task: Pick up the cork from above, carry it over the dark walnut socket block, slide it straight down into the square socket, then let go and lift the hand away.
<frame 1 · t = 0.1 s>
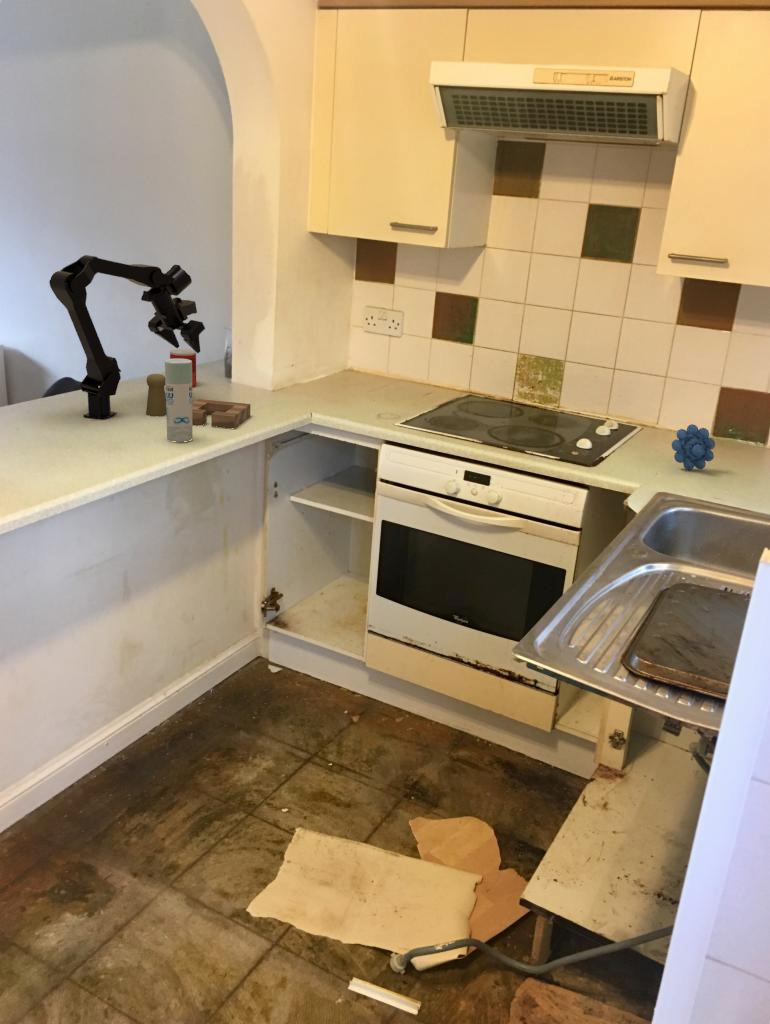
hand: (188, 349, 254), 15 cm above the worktop, tool tilted 30°, fingers open, 9 cm apart
blue knobbed flower: (690, 471, 223), on the worktop
canned food: (183, 386, 276), on the worktop
socket block: (216, 419, 240), on the worktop
cork: (157, 414, 242), on the worktop
spray paint can: (179, 440, 220), on the worktop
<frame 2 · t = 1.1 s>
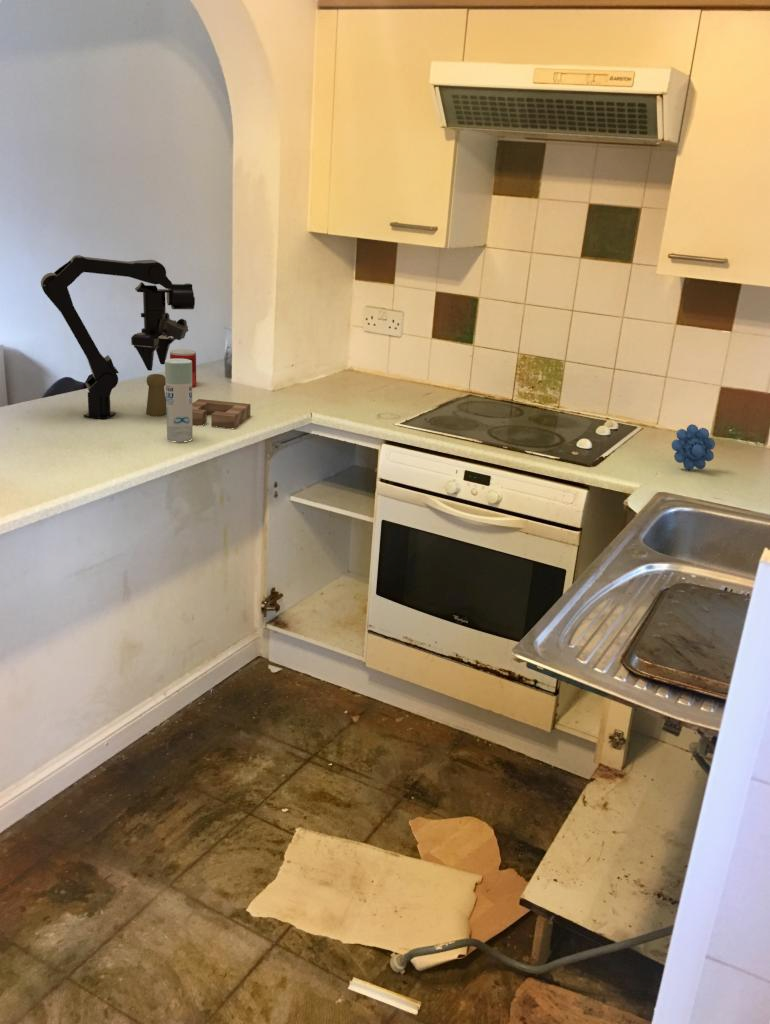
hand: (156, 367, 238), 13 cm above the worktop, tool pointing down, fingers open, 9 cm apart
nothing on the worktop moved.
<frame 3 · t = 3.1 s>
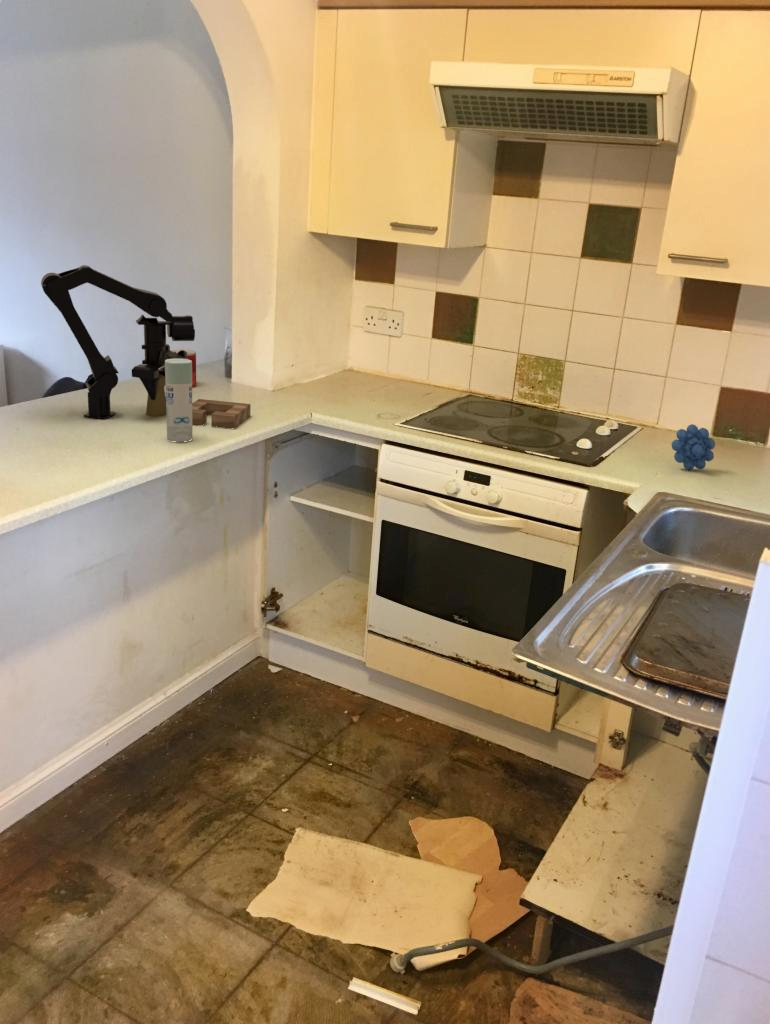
hand: (156, 397, 240), 5 cm above the worktop, tool pointing down, fingers closed on cork, 4 cm apart
cork: (157, 414, 242), on the worktop, touching gripper
everything else where it was.
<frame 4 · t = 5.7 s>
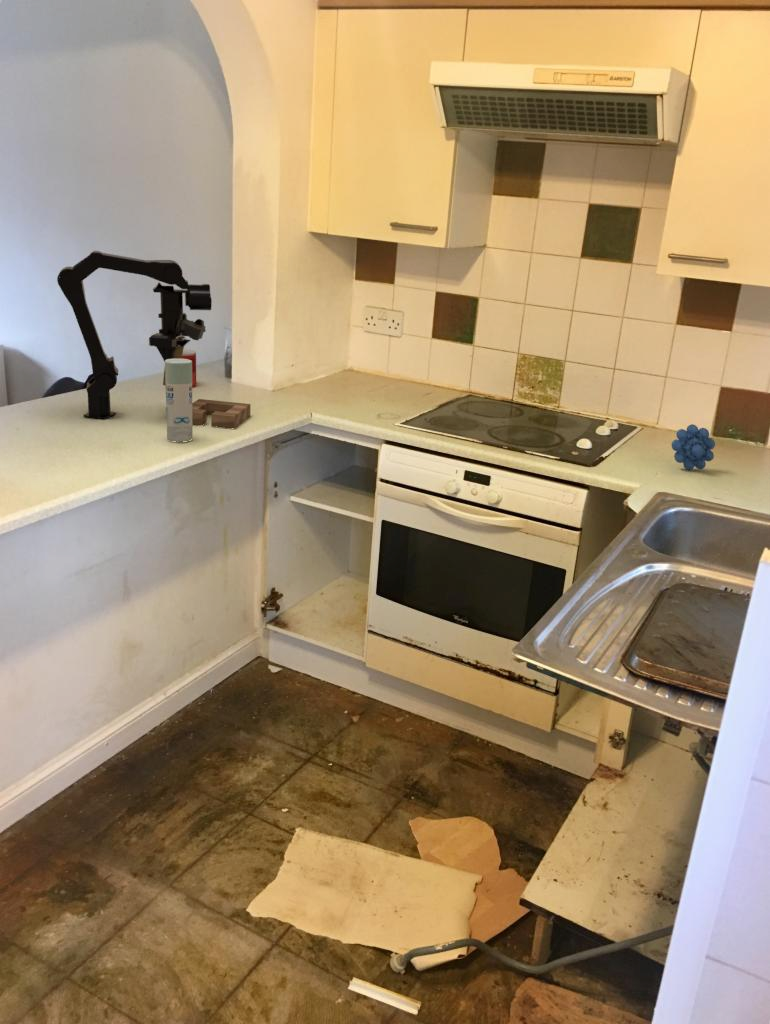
hand: (173, 367, 237), 13 cm above the worktop, tool pointing down, fingers closed on cork, 4 cm apart
cork: (174, 384, 238), point 9 cm above the worktop, touching gripper
everything else where it was.
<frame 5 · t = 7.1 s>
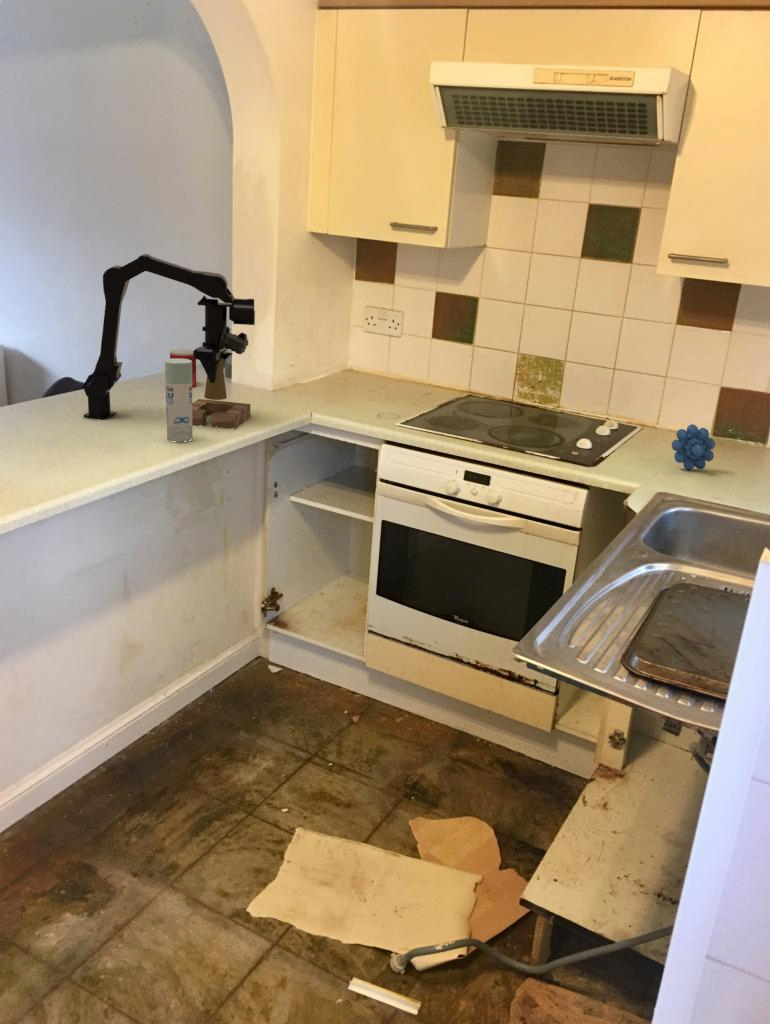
hand: (215, 381, 236), 11 cm above the worktop, tool pointing down, fingers closed on cork, 4 cm apart
cork: (215, 397, 238), point 6 cm above the worktop, touching gripper
everything else where it was.
when the fingers open (6 cm above the worktop, at t = 8.2 s): cork drops 1 cm, resting in socket block.
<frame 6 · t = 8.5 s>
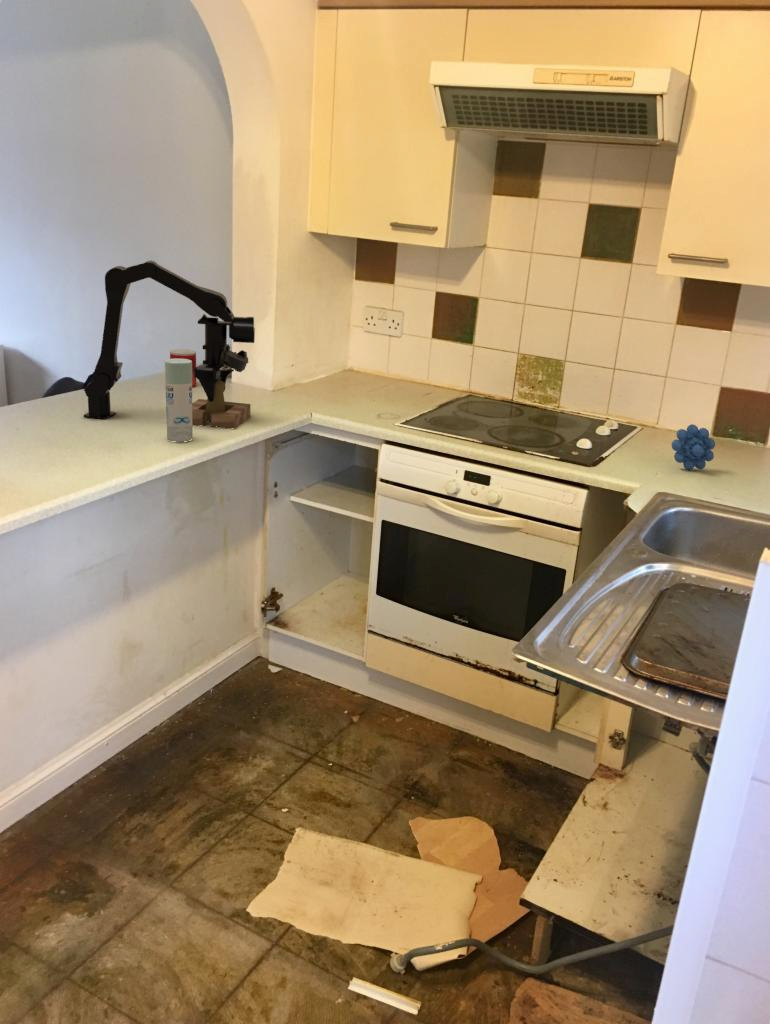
hand: (215, 398, 238), 6 cm above the worktop, tool pointing down, fingers open, 7 cm apart
cork: (215, 420, 240), resting in socket block
everything else where it was.
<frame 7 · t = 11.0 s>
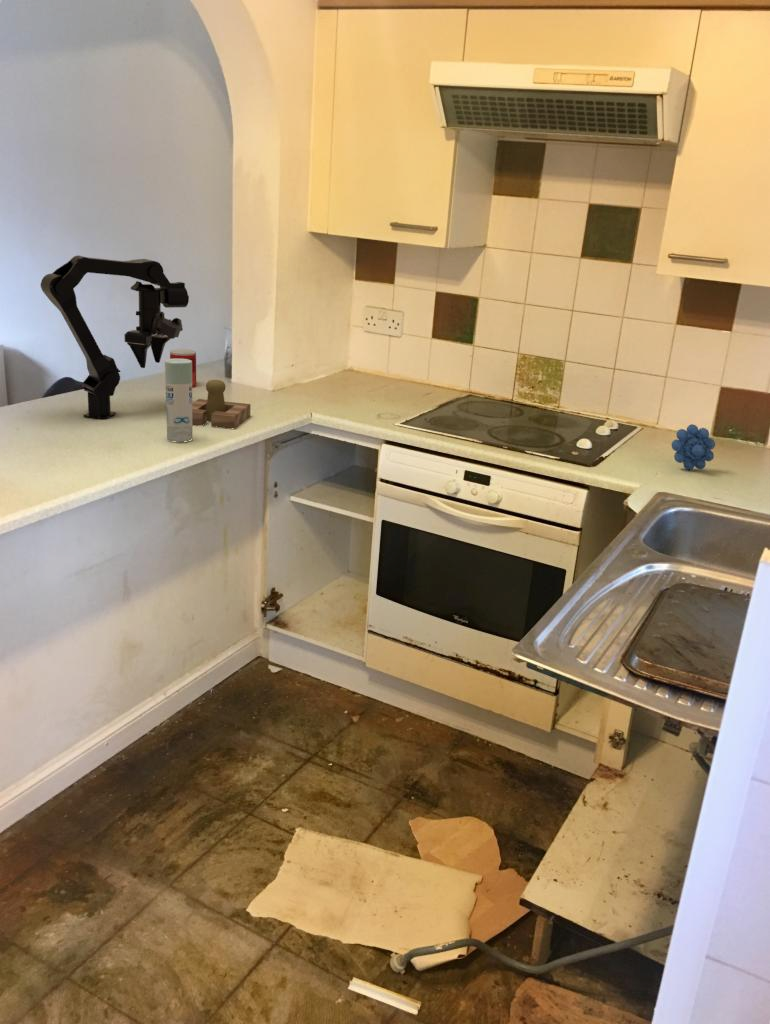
hand: (150, 365, 241), 13 cm above the worktop, tool pointing down, fingers open, 9 cm apart
nothing on the worktop moved.
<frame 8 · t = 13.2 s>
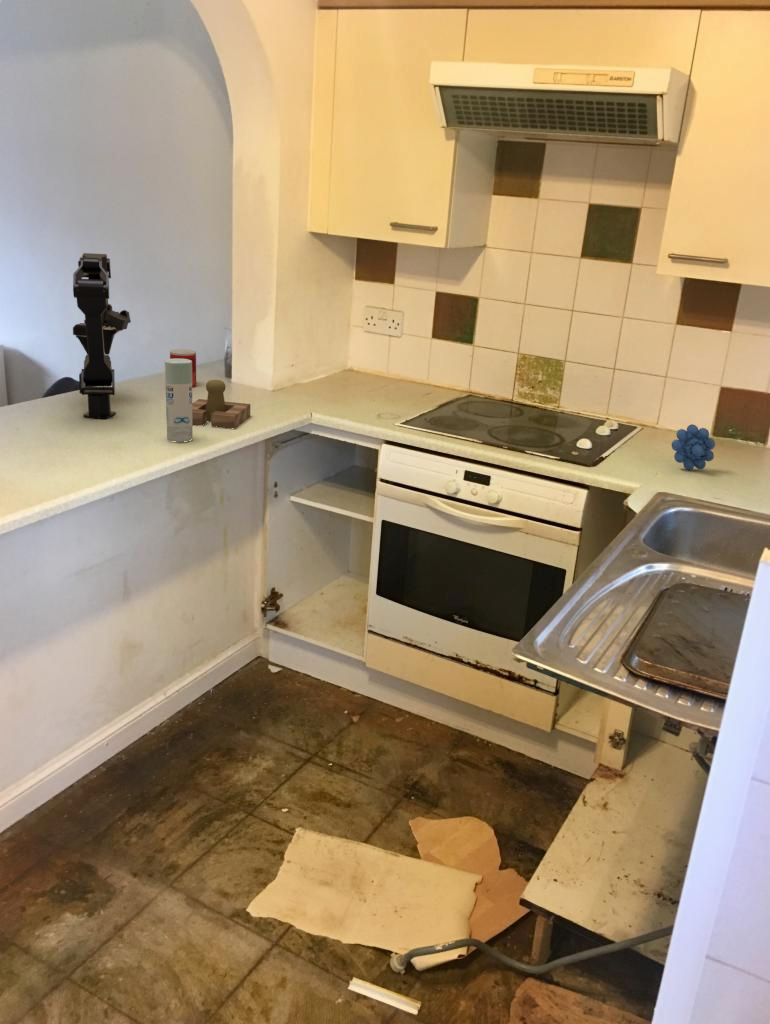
hand: (99, 357, 245), 13 cm above the worktop, tool pointing down, fingers open, 9 cm apart
nothing on the worktop moved.
at the end: cork 0.1 cm off-centre on the socket block, point 0.0 cm above the socket block's base; cork tilted 0°; the gripper is holding nothing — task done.
